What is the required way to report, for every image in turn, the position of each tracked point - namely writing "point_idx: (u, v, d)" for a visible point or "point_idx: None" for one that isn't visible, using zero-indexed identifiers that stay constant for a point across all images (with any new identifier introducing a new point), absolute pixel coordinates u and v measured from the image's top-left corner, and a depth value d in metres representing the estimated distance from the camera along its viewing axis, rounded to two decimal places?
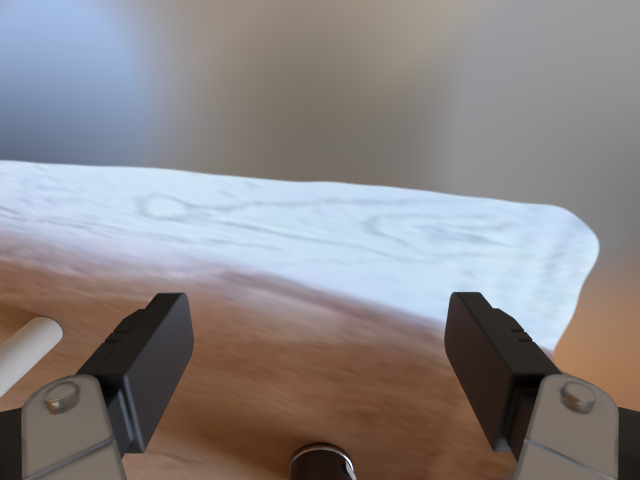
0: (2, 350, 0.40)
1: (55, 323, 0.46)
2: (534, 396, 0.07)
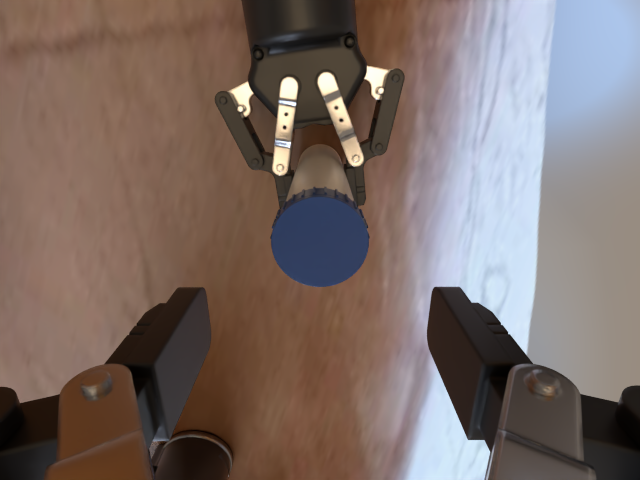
0: None
1: None
2: (504, 385, 0.08)
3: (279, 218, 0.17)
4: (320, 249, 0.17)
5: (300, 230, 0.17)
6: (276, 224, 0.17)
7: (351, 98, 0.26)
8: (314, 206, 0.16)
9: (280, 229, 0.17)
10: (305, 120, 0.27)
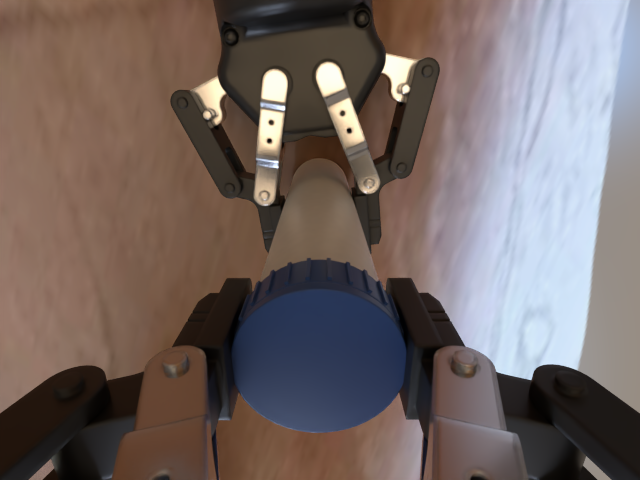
0: None
1: None
2: None
3: (243, 325, 0.09)
4: (319, 375, 0.09)
5: (281, 346, 0.09)
6: (238, 336, 0.09)
7: (363, 100, 0.19)
8: (308, 305, 0.09)
9: (245, 344, 0.09)
10: (298, 130, 0.19)
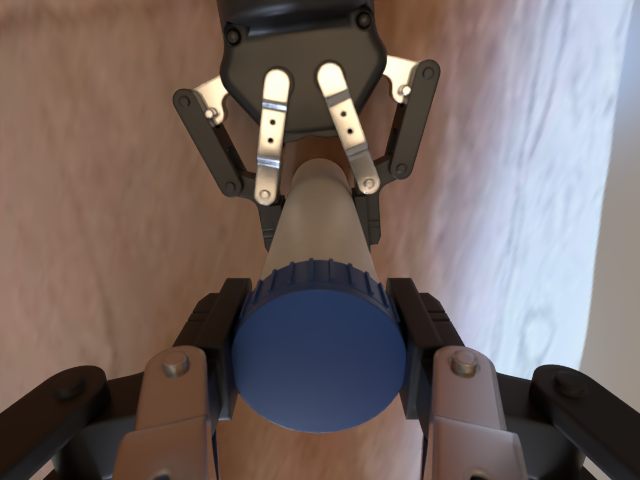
0: None
1: None
2: None
3: (274, 422, 0.10)
4: (329, 366, 0.09)
5: (294, 396, 0.10)
6: (285, 426, 0.10)
7: (364, 101, 0.19)
8: (248, 376, 0.09)
9: (294, 421, 0.10)
10: (300, 130, 0.19)
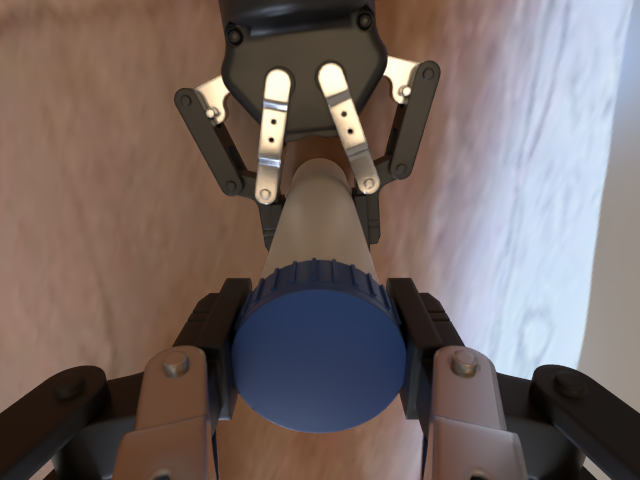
0: None
1: None
2: None
3: (389, 402, 0.10)
4: (317, 358, 0.09)
5: (355, 386, 0.10)
6: (395, 394, 0.10)
7: (365, 101, 0.19)
8: (331, 420, 0.10)
9: (389, 386, 0.10)
10: (300, 130, 0.19)
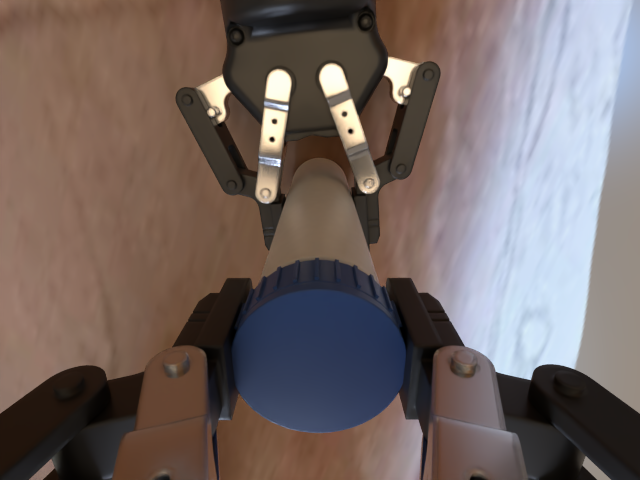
0: None
1: None
2: None
3: (365, 301, 0.09)
4: (307, 368, 0.09)
5: (342, 335, 0.09)
6: (353, 297, 0.09)
7: (365, 101, 0.19)
8: (389, 355, 0.09)
9: (343, 304, 0.09)
10: (301, 130, 0.20)
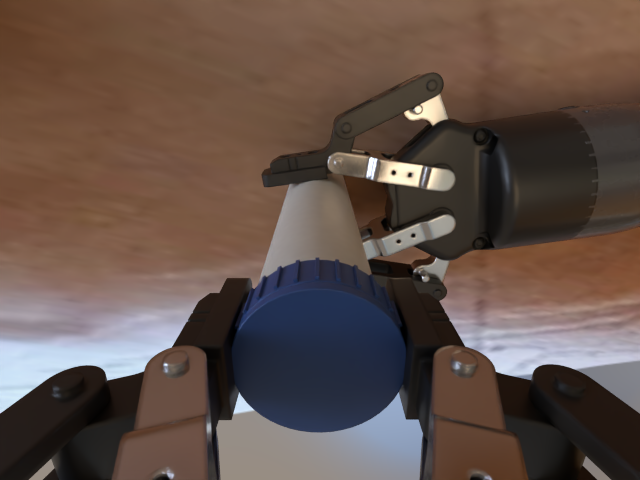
0: None
1: None
2: None
3: (365, 301, 0.09)
4: (308, 368, 0.09)
5: (342, 335, 0.09)
6: (353, 297, 0.09)
7: (418, 247, 0.23)
8: (389, 354, 0.09)
9: (343, 303, 0.09)
10: (397, 195, 0.21)
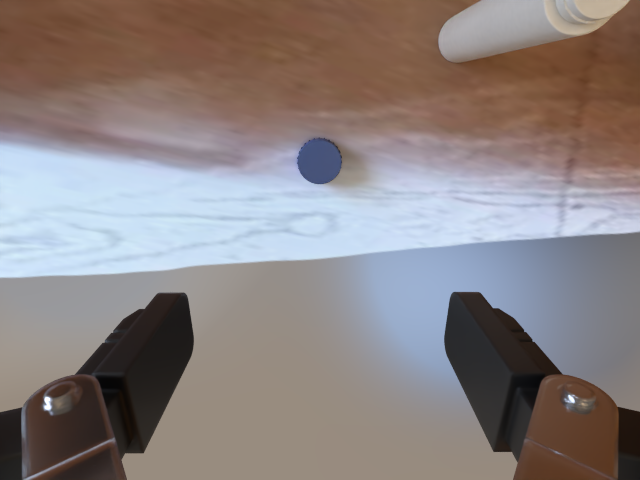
0: (483, 56, 0.30)
1: (443, 55, 0.36)
2: (534, 396, 0.07)
3: (330, 143, 0.37)
4: (317, 163, 0.38)
5: (325, 153, 0.38)
6: (327, 142, 0.37)
7: None
8: (336, 158, 0.38)
9: (325, 144, 0.37)
10: None
